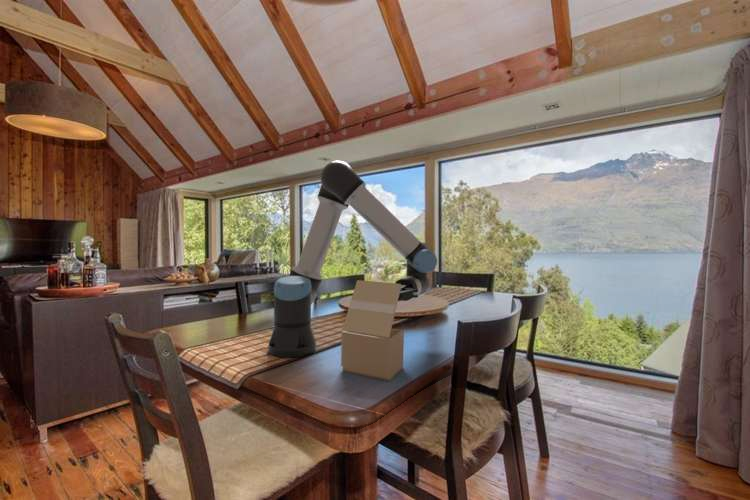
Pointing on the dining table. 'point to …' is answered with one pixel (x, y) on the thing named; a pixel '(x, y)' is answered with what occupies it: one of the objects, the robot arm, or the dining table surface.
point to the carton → (372, 354)
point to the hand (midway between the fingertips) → (378, 299)
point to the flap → (372, 308)
